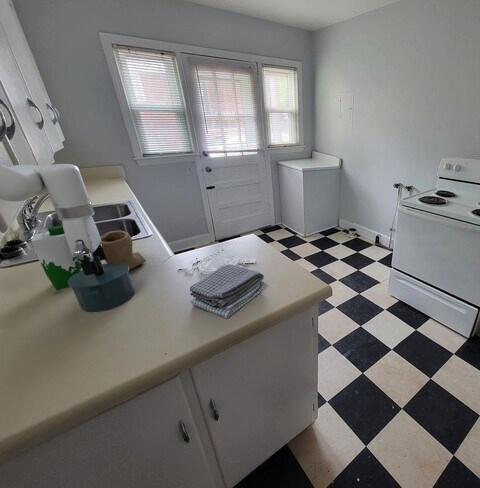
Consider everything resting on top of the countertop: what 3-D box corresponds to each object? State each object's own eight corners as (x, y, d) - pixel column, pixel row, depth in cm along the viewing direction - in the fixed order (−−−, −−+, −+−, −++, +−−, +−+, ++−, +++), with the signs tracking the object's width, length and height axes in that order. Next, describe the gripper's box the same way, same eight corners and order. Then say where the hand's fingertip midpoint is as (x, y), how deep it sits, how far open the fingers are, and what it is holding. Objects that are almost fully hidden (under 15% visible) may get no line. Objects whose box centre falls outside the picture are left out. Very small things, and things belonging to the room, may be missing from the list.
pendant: (217, 248, 120) (216, 245, 120) (265, 262, 107) (264, 259, 107) (171, 268, 103) (171, 264, 103) (222, 287, 90) (221, 284, 90)
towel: (267, 289, 90) (264, 268, 86) (224, 321, 75) (220, 297, 72) (233, 278, 96) (230, 258, 93) (188, 306, 81) (182, 283, 78)
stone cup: (115, 281, 94) (101, 242, 88) (95, 274, 99) (80, 236, 93) (155, 263, 107) (145, 227, 101) (136, 258, 111) (125, 223, 105)
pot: (71, 323, 74) (59, 297, 71) (89, 289, 90) (80, 266, 86) (130, 309, 80) (121, 284, 76) (138, 279, 95) (131, 258, 92)
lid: (61, 295, 73) (51, 274, 70) (77, 271, 85) (69, 252, 82) (126, 282, 79) (119, 262, 76) (133, 262, 91) (127, 244, 88)
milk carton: (87, 283, 93) (65, 229, 85) (51, 292, 88) (24, 235, 80) (87, 273, 100) (66, 222, 92) (53, 281, 94) (28, 228, 86)
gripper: (68, 205, 79) (88, 257, 86) (44, 222, 65) (71, 283, 72) (99, 202, 82) (117, 253, 89) (83, 218, 68) (105, 277, 75)
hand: (96, 266), depth 80 cm, fingers open, 9 cm apart
